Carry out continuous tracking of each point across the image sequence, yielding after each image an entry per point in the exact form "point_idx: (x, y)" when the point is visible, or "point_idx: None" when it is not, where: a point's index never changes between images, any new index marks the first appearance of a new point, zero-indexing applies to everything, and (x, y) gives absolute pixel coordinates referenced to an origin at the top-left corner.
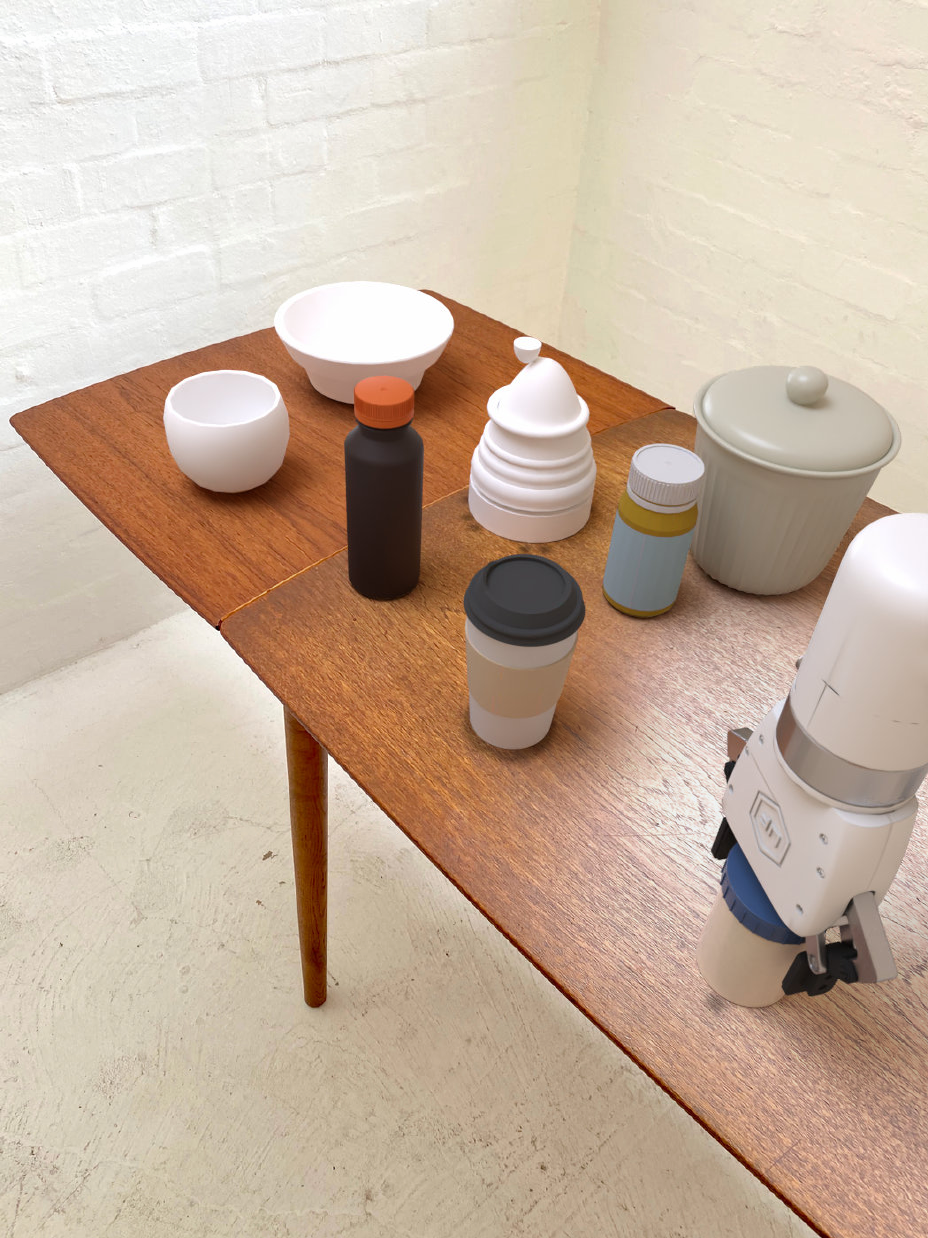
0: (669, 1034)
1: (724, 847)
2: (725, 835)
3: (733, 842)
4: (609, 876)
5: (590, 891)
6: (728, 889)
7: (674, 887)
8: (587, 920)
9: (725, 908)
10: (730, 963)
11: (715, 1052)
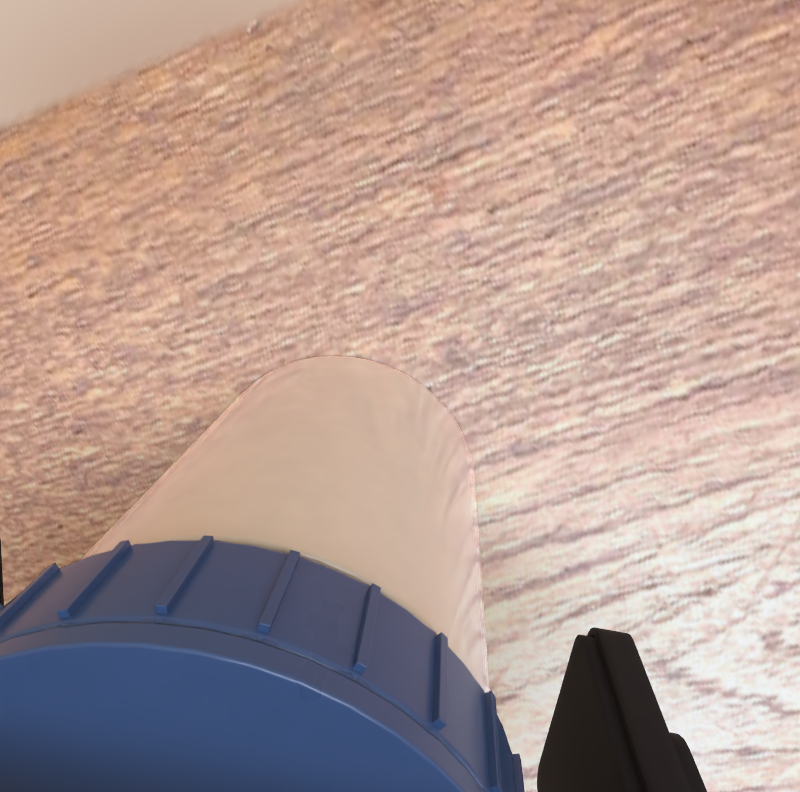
0: (222, 161)
1: (594, 714)
2: (631, 789)
3: (590, 771)
4: (772, 272)
5: (759, 177)
6: (254, 618)
7: (628, 443)
8: (668, 106)
9: (289, 527)
10: (234, 423)
11: (139, 261)
